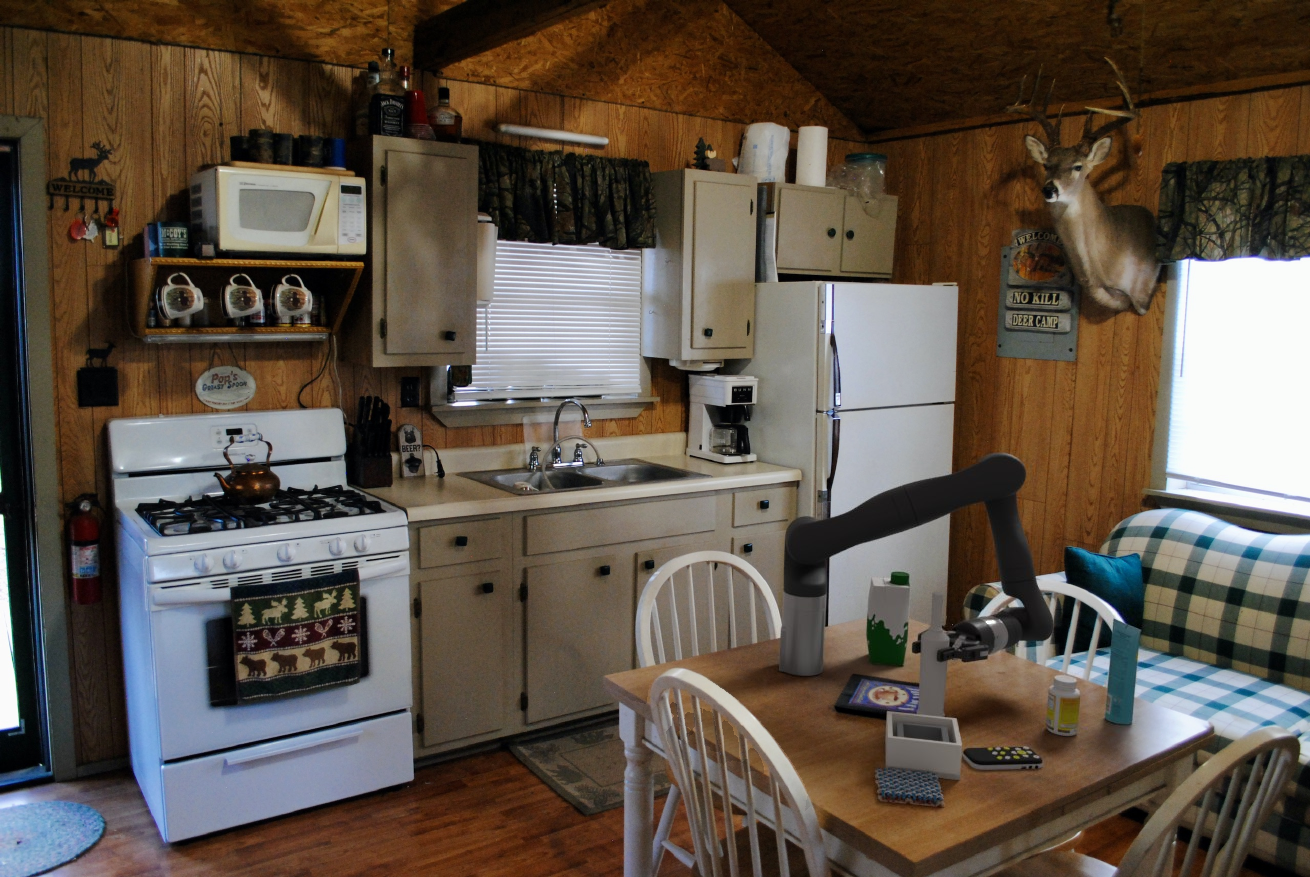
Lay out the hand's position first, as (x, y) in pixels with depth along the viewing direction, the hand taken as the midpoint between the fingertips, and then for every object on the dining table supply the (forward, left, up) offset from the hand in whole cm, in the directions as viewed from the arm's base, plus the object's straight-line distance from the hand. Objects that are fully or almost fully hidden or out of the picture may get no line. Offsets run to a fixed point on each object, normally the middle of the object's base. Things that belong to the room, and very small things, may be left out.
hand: (926, 652), depth 190 cm
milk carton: (-6, +36, -14) cm, 39 cm away
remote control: (+13, -13, -15) cm, 24 cm away
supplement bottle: (+26, +4, -14) cm, 30 cm away
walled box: (-1, -17, -14) cm, 22 cm away
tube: (+38, +13, -14) cm, 42 cm away
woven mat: (-3, -29, -15) cm, 33 cm away
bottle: (+2, +2, -14) cm, 14 cm away
